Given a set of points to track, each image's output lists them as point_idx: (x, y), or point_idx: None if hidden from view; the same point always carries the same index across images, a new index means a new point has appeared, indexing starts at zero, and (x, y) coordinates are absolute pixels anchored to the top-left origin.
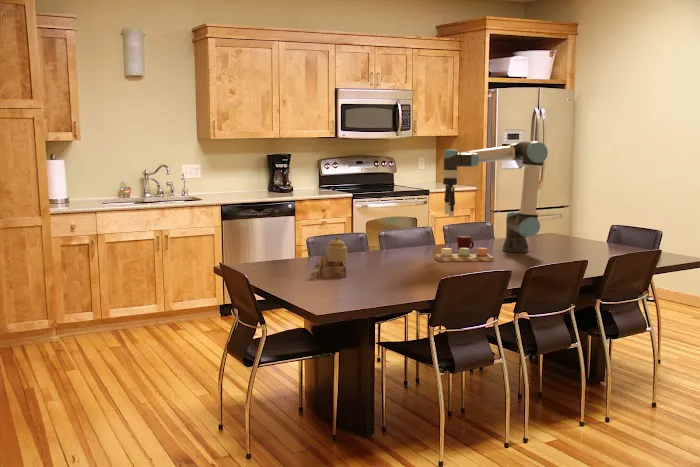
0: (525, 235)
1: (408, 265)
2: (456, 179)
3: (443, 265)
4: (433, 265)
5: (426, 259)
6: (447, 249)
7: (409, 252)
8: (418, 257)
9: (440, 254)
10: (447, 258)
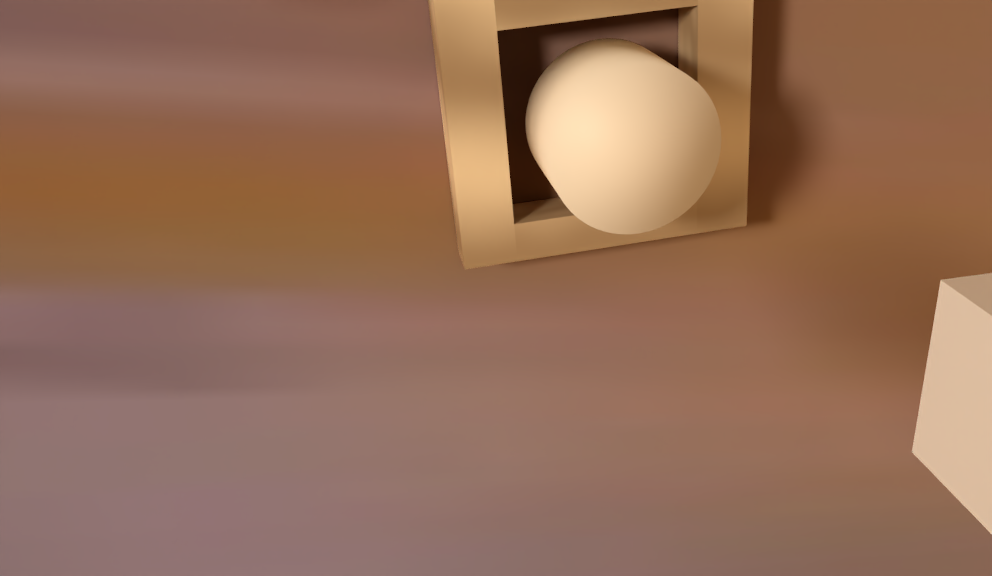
0: None
1: (911, 518)
2: None
3: (983, 166)
4: None
5: (574, 357)
6: (700, 139)
7: (61, 563)
8: (436, 448)
9: (473, 199)
10: (746, 108)
